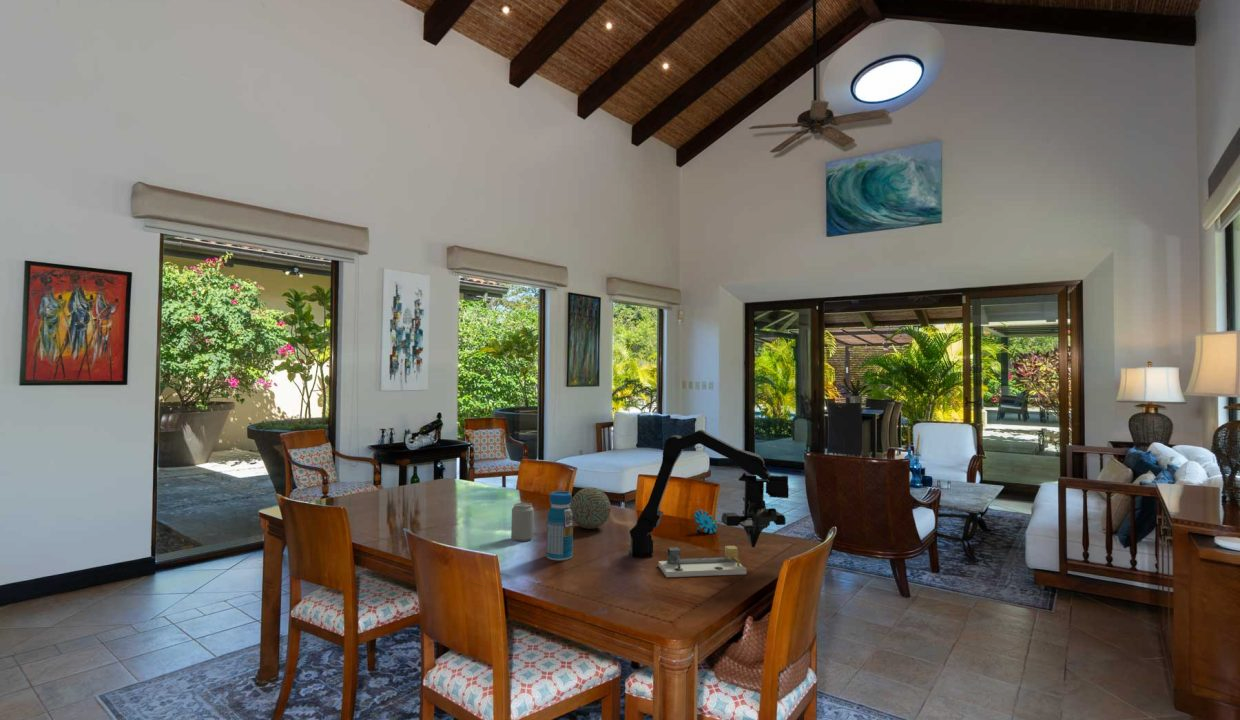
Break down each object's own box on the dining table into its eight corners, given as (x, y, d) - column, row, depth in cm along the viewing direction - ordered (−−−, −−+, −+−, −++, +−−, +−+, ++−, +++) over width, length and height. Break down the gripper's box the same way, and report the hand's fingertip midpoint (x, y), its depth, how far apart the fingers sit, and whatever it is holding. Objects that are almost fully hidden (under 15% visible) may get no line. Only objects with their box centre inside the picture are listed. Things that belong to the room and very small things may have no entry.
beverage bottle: (546, 561, 193) (547, 496, 194) (545, 553, 202) (546, 490, 202) (573, 560, 195) (575, 495, 195) (571, 552, 203) (573, 490, 203)
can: (506, 540, 216) (507, 505, 216) (518, 535, 223) (519, 500, 223) (526, 543, 213) (526, 507, 213) (537, 537, 220) (537, 503, 220)
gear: (702, 532, 226) (691, 508, 232) (693, 541, 229) (682, 517, 235) (724, 532, 232) (713, 509, 239) (715, 541, 235) (704, 517, 242)
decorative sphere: (580, 521, 244) (581, 482, 244) (616, 526, 238) (617, 486, 238) (562, 530, 230) (563, 489, 230) (600, 535, 224) (600, 493, 224)
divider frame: (672, 570, 183) (673, 555, 183) (666, 561, 191) (666, 547, 191) (745, 567, 187) (745, 553, 187) (735, 559, 195) (735, 545, 195)
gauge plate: (666, 577, 182) (666, 571, 182) (658, 566, 191) (658, 560, 191) (746, 574, 186) (746, 568, 186) (734, 563, 196) (734, 558, 196)
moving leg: (733, 566, 186) (734, 553, 186) (724, 558, 194) (725, 545, 194) (743, 566, 187) (743, 553, 187) (734, 558, 195) (734, 545, 195)
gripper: (734, 502, 185) (733, 555, 185) (794, 501, 188) (793, 554, 188) (721, 494, 196) (720, 544, 195) (778, 493, 199) (777, 543, 199)
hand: (752, 546), depth 194 cm, fingers closed
